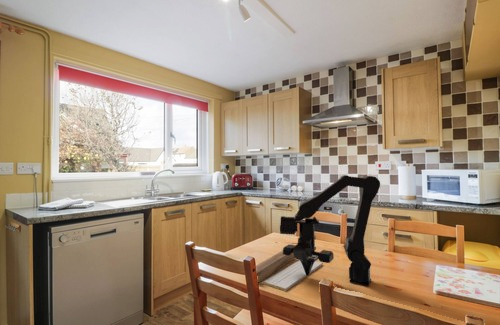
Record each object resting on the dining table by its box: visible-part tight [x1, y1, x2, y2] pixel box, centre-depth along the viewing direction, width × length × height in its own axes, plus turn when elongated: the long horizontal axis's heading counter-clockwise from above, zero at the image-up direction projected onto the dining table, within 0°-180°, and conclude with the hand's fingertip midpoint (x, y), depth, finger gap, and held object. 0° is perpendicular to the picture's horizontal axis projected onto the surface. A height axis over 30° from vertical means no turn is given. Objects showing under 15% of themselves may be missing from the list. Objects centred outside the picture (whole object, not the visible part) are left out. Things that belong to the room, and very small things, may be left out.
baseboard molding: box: [260, 260, 324, 292], centre depth 104 cm, size 31×3×12 cm
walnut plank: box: [255, 250, 296, 284], centre depth 110 cm, size 5×32×4 cm, turn 146°
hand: (307, 275), depth 99 cm, fingers closed
